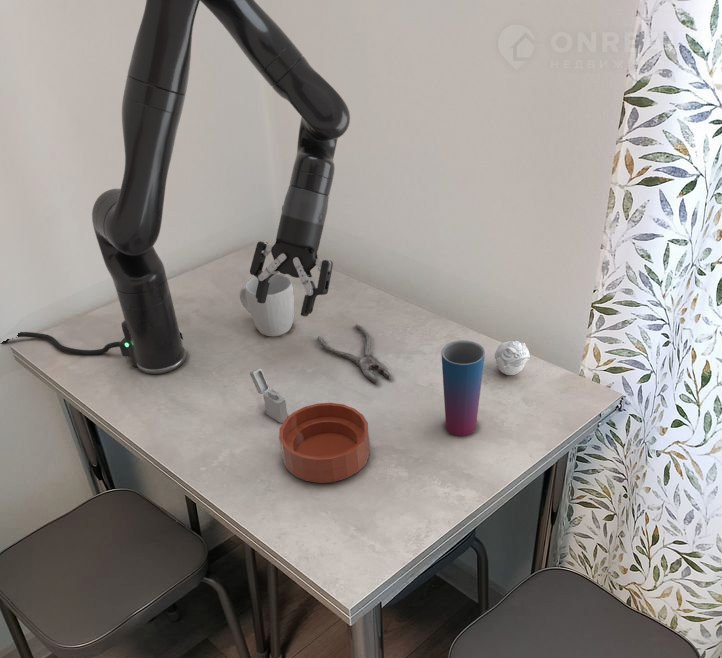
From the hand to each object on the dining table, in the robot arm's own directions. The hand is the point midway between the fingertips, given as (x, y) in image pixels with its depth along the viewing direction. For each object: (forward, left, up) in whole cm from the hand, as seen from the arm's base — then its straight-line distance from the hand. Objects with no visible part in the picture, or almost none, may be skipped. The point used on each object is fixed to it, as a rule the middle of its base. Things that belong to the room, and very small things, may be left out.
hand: (282, 309), depth 144 cm
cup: (+34, -11, -13) cm, 38 cm away
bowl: (+14, -23, -13) cm, 30 cm away
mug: (-10, +13, -13) cm, 21 cm away
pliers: (+12, +7, -13) cm, 19 cm away
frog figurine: (+40, +6, -13) cm, 43 cm away
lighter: (+1, -14, -13) cm, 19 cm away
